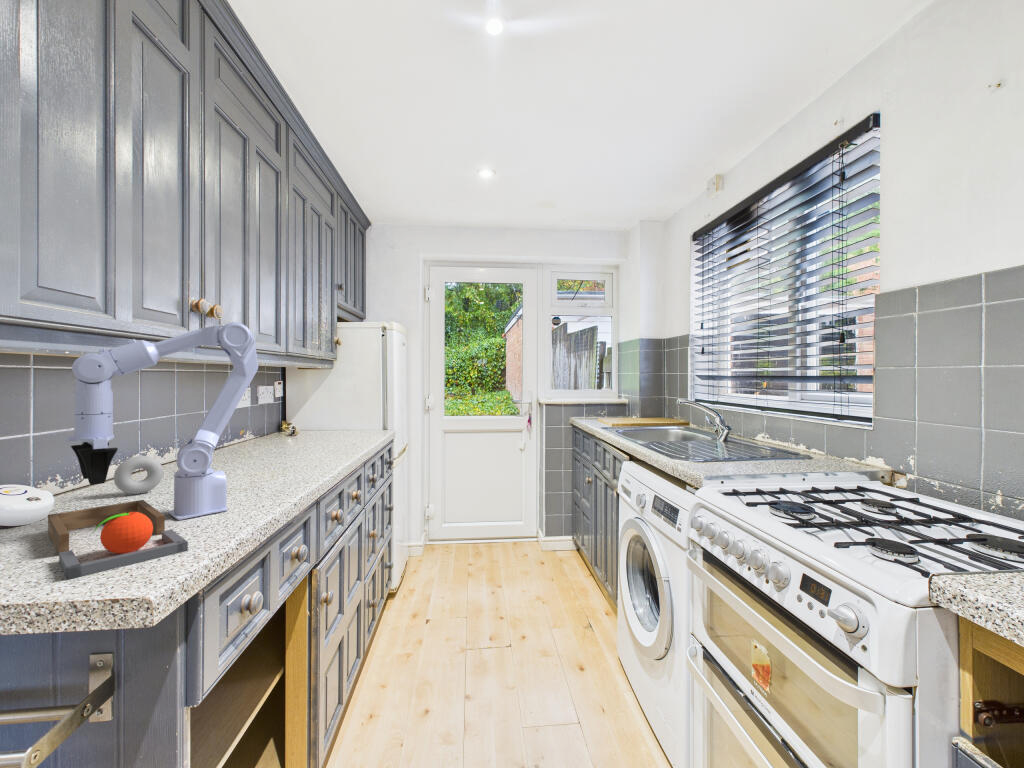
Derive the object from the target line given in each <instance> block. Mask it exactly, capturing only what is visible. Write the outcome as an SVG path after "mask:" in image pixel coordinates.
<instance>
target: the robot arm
mask: <svg viewBox="0 0 1024 768" xmlns="http://www.w3.org/2000/svg"><path fill="white" fill-rule="evenodd" d="M221 326H222V324H217V325H211V326H207V327H202V328H199V329H196V330H195V329H194V330H191V331H188V332H185V333H183V334H182V333H181V334H179V335H177V336H176V335H175V336H173V337H170V338H167V339H166V338H165V339H163V340H160V341H157V342H153V343H152V342H150V341H146V340H144V339H141V340H138V341H136V339H135V338H133V339H130V340H127V342H126V343H127V344H123V345H119V346H116V347H113V348H109V349H106V348H105V347H104V348H100V349H98V353H95V352H88V353H85V354H84V355H81V356H79V357H78V358H77V359H75V360H74V362H73V363H72V367H71V371H72V374H73V375H74V377H76V378H75V382H74V387H75V390H74V391H73V393H74V394H73V398H74V399H73V401H74V402H73V403H74V404H73V405H74V407H73V420H74V421H73V422H74V423H73V426H74V427H73V428H74V429H73V431H74V432H73V436H65V441H66V442H78V443H81V444H74V445H71V446H70V448H71V449H72V450H73V452H74V453H75V455H76V457H77V460H78V464H79V468H80V472H81V476H82V478H83V480H86V479H87V481H88V483H89V485H90V486H92V485H102V484H105V482H106V480H107V477H108V474H109V473H108V472H109V469H110V465H111V462H112V460H113V459H114V457H115V456H116V454H117V452H118V450H119V449H118V447H109V446H110V443H109V441H111V440H113V439H115V434H114V391H113V379H112V378H114V376H115V375H117V376H119V377H120V376H121V377H122V376H124V375H128V374H131V373H134V372H138V371H140V370H143V369H147V368H150V367H154V366H156V365H157V364H158V362H159V360H160V358H161V357H166V356H168V355H172V354H176V353H180V352H183V351H186V350H189V349H193V348H197V347H202V346H203V347H208V348H209V347H210V348H217V347H218V346H219V347H220V348H221V349H222V350H223V352H225V354H227V356H228V358H229V361H230V363H231V365H232V369H231V371H230V373H229V375H228V377H227V378H226V380H225V381H224V382H223V385H222V387H221V388H220V390H219V392H218V394H217V395H216V397H215V399H213V402H212V404H211V405H210V407H209V408H208V411H207V412H206V414H205V415H204V418H203V419H202V420H201V423H200V424H199V426H198V428H197V429H196V430H195V432H194V433H193V435H191V438H190V439H189V441H188V442H186V443H185V444H184V445H181V447H180V448H179V449H178V451H177V454H176V467H177V468H178V470H177V471H175V472H174V476H173V509H171V510H168V511H167V514H168V515H170V516H171V517H172V518H174V519H176V520H178V521H180V520H186V519H190V518H192V519H193V518H196V517H197V518H198V517H201V516H207V515H211V514H212V515H213V514H216V513H217V514H218V513H222V512H226V511H228V510H229V509H228V508H227V501H228V499H227V497H228V496H227V491H228V489H227V488H228V486H227V485H228V484H227V476H226V473H225V472H224V470H214V468H213V467H211V466H212V463H213V453H214V450H215V448H216V446H217V445H218V442H219V440H220V437H221V435H222V434H223V432H224V430H225V429H226V426H227V425H228V423H229V421H230V419H231V418H232V416H233V414H234V412H235V411H236V409H237V407H238V406H239V404H240V402H241V400H242V398H243V397H244V395H245V393H246V391H247V389H248V387H249V386H250V384H251V382H252V381H253V379H254V377H255V375H256V374H257V372H258V369H259V361H258V355H257V346H256V345H257V344H256V339H255V337H254V335H253V334H252V331H251V330H250V329H249V328H248V327H247V325H245V324H243V323H241V322H237V321H236V322H234V321H233V322H232V321H231V322H227V323H226V324H224V325H223V326H222V327H221Z"/></svg>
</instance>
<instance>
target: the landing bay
mask: <svg viewBox="0 0 1024 768" xmlns="http://www.w3.org/2000/svg"><path fill="white" fill-rule="evenodd" d="M161 540H162V542H164V543H165V544H160V545H157V546H153V547H149V548H143V549H138V550H136V551H133V552H130V553H125V554H116V555H113V556H109V557H108V556H107V557H103V558H100V559H95V560H91V561H85V562H82V563H80V562H79V560H78V557H77V556H76V554H75V553H74V551H73V550H72V549H71V550H70V549H69V551H65V552H60V553H59V554H58V562H59V564H60V566H61V568H62V570H63V573H64V575H65V577H66V579H67V580H71V579H75V578H79V577H84V576H88V575H93V574H96V572H97V573H101V572H105V571H109V570H112V569H111V568H113V569H116V568H115V567H117V568H120V567H119V566H122V567H125V566H124V565H126V566H129V564H130V565H132V564H133V563H134V564H137V563H142V562H146V561H150V560H155V559H158V558H162V557H166V556H170V555H174V554H178V553H183V552H187V551H188V550H189V547H188V546H189V542H188V541H187V540H186V539H185V538H184V537H182V536H181V535H180V534H179V533H177V532H176V531H174V530H173V529H167V530H165V531H162V534H161ZM186 550H187V551H186ZM108 569H109V570H108ZM104 570H105V571H104ZM100 571H101V572H100ZM92 573H93V574H92Z"/></svg>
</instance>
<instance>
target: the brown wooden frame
mask: <svg viewBox="0 0 1024 768" xmlns="http://www.w3.org/2000/svg"><path fill="white" fill-rule="evenodd" d="M128 511H129V512H139V513H142V514H144V515H146V516H147V517H148V518H149V519H150V520H151V522H152V524H153V532H152V533H154V535H156V536H159V535H162V531H166V530H165V529H166V528H165V527H166V526H165V525H166V524H165V522H166V521H165V517H166V516H165V515H164V514H163V513H162V512H161V511H159V510H158V509H156V508H155V507H153V506H152V505H151V504H149V503H148V502H147V501H145V500H144V499H141V500H140V499H139V500H134V501H127V502H121V503H114V504H108V505H102V506H96V507H90V508H89V507H88V508H82V509H76V510H71V511H70V510H69V511H63V512H57V513H51V514H48V515H47V533H48V535H49V538H50V540H51V542H52V544H53V546H54V548H55V551H56V552H57V555H59V553H60V552H65V551H70V532H69V531H73V530H79V529H78V528H80V529H84V527H85V528H90V527H89V526H91V527H95V526H94V525H96V526H98V524H100V523H101V522H103V521H104V520H106V519H107V518H109V517H111V516H114V515H118V514H122V513H127V512H128ZM108 521H109V520H108ZM108 521H106V522H104V523H107V522H108Z"/></svg>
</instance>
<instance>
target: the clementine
mask: <svg viewBox="0 0 1024 768" xmlns="http://www.w3.org/2000/svg"><path fill="white" fill-rule="evenodd" d="M108 520H109V521H108ZM106 521H108V522H107V523H106V524H103V523H104V522H106ZM101 524H102V525H104V526H103V528H102V530H101V532H100V535H99V539H100V543H101V545H102V546H103V547H104V549H105V550H107V551H108V552H110V553H114V554H116V555H121V554H125V553H130V552H134V551H139V550H141V548H143V547H144V546H145V545H146V544H147V543H148V542H149V541H150V539H151V538H152V535H153V533H154V532H153V524H152V522H151V520H150V519H149V518H148V517H147V516H146V515H144V514H142V513H139V512H129V511H128V512H127V513H122V514H118V515H114V516H111V517H109V518H107V519H106V520H104V521H103V522H101V523H100V524H99V525H96V526H95V528H94V530H93V533H92V535H94V534H95V533H96V530H97V529H98V528H99V527H100V526H102V525H101Z"/></svg>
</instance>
